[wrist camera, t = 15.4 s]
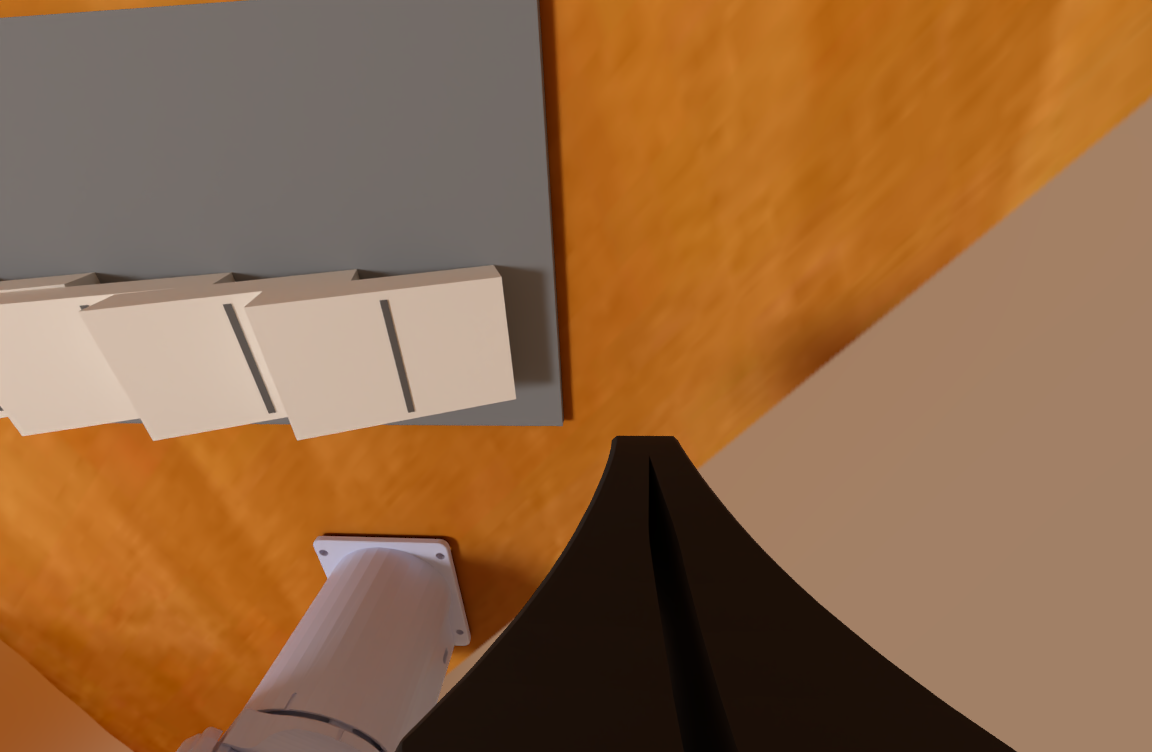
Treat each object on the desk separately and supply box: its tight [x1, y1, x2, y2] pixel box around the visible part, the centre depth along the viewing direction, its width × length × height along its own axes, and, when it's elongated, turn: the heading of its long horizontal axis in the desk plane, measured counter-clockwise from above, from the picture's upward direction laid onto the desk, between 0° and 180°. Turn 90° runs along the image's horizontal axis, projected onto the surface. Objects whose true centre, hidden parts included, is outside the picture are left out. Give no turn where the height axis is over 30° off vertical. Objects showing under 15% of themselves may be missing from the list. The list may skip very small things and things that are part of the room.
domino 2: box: [78, 269, 360, 441], centre depth 17 cm, size 2×5×8 cm
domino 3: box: [244, 265, 516, 440], centre depth 17 cm, size 2×5×8 cm
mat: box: [0, 0, 564, 426], centre depth 18 cm, size 16×26×1 cm, turn 92°
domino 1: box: [0, 272, 235, 436], centre depth 18 cm, size 2×5×8 cm
